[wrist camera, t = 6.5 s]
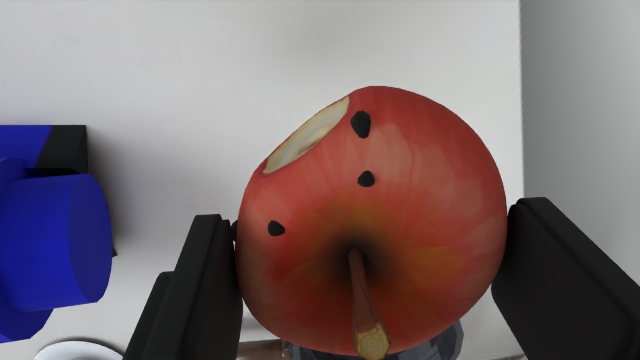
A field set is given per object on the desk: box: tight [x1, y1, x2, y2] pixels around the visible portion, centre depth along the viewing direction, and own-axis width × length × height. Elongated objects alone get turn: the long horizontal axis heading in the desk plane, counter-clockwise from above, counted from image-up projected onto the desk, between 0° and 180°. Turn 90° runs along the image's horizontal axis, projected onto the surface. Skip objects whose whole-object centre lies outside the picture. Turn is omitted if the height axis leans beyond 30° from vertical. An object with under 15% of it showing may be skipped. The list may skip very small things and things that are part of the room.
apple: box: [231, 86, 508, 360], centre depth 10 cm, size 8×7×10 cm
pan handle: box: [236, 339, 294, 360], centre depth 38 cm, size 12×2×2 cm, turn 93°
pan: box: [293, 320, 464, 360], centre depth 39 cm, size 16×16×4 cm
